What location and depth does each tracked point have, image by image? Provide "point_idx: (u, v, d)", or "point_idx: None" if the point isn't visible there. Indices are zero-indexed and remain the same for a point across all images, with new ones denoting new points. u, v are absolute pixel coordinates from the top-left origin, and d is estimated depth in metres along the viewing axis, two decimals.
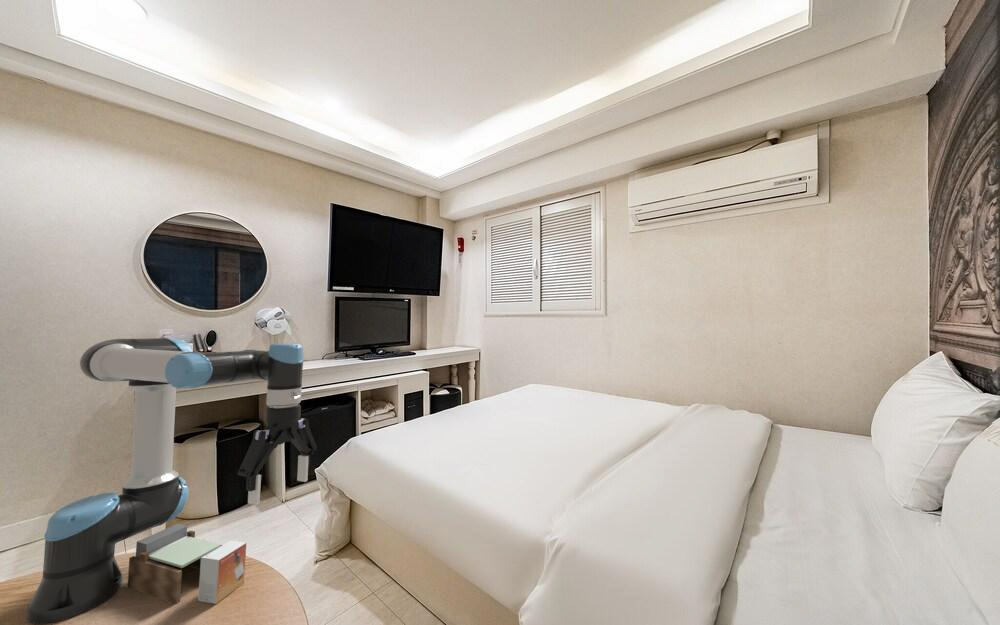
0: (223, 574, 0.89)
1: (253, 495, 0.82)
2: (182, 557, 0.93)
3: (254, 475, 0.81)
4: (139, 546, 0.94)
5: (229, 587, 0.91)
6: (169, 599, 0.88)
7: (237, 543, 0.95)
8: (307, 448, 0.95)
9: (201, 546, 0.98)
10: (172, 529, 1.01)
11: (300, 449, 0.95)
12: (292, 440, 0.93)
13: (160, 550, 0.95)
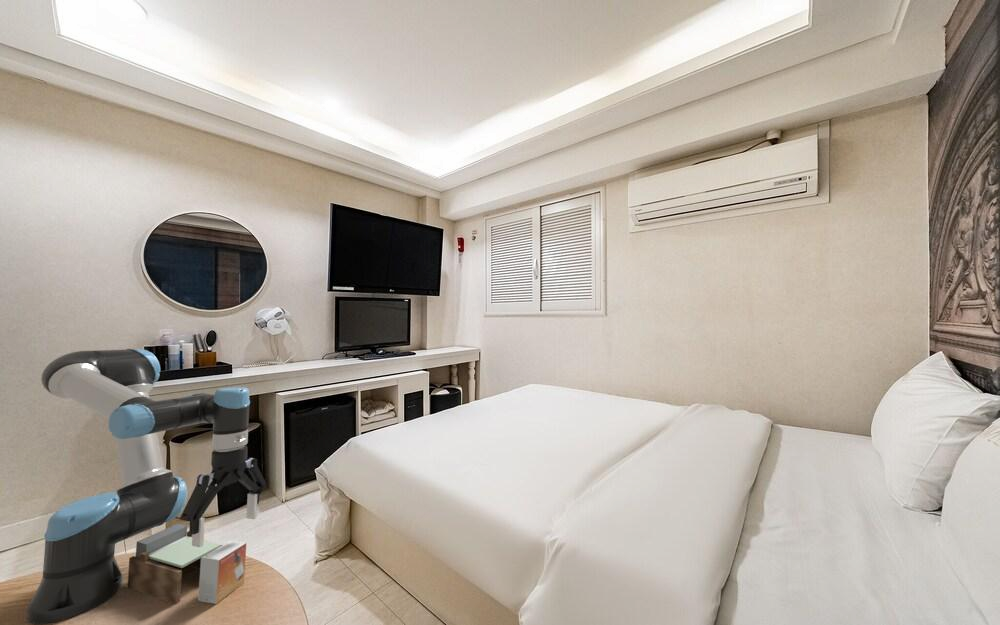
0: (223, 574, 0.89)
1: (196, 538, 0.86)
2: (182, 557, 0.93)
3: (197, 519, 0.85)
4: (139, 546, 0.94)
5: (229, 587, 0.91)
6: (169, 599, 0.88)
7: (237, 543, 0.95)
8: (256, 487, 0.99)
9: None
10: (172, 529, 1.01)
11: (249, 488, 0.99)
12: (240, 480, 0.97)
13: (160, 550, 0.95)
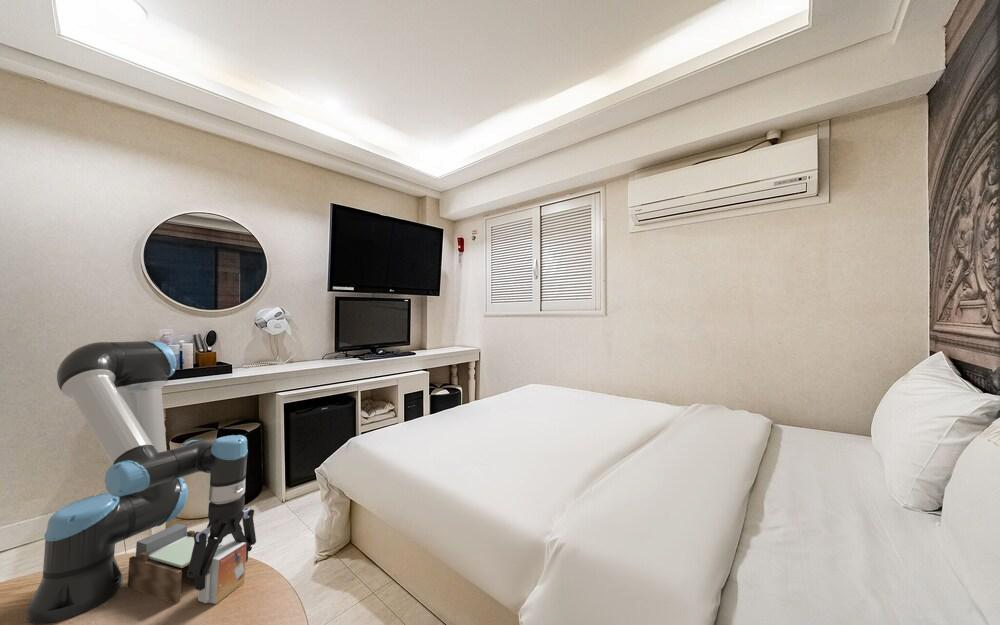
0: (223, 574, 0.89)
1: (203, 593, 0.87)
2: (182, 557, 0.93)
3: (203, 575, 0.87)
4: (139, 546, 0.94)
5: (229, 586, 0.91)
6: (169, 599, 0.88)
7: (237, 543, 0.95)
8: (246, 543, 0.97)
9: None
10: (172, 529, 1.01)
11: None
12: (233, 533, 0.95)
13: (160, 550, 0.95)
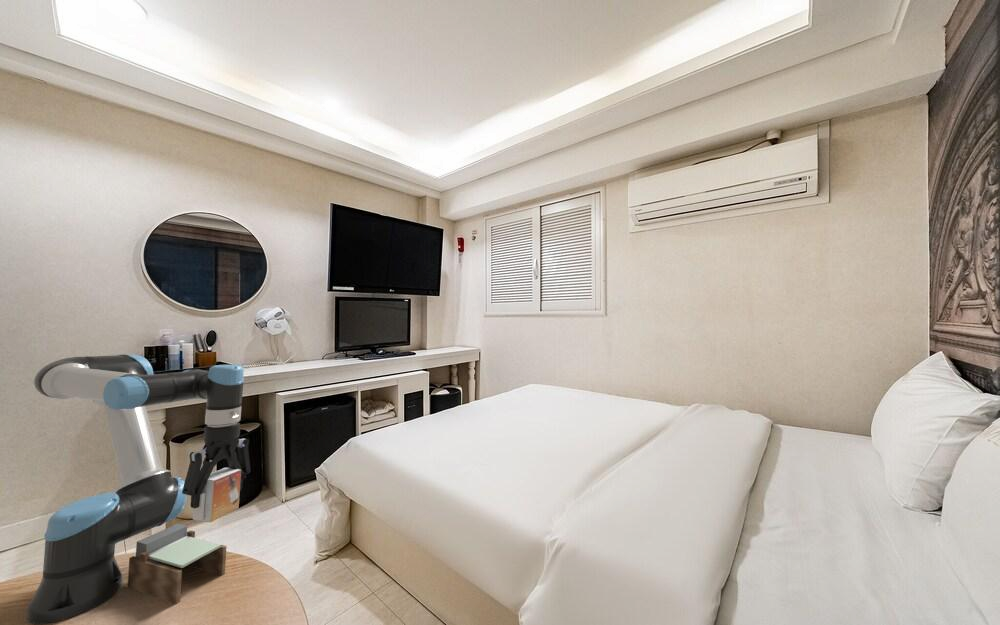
0: (218, 495, 0.91)
1: (197, 512, 0.89)
2: (182, 557, 0.93)
3: (198, 494, 0.89)
4: (139, 546, 0.94)
5: (223, 508, 0.93)
6: (169, 599, 0.88)
7: (232, 469, 0.97)
8: None
9: (201, 546, 0.98)
10: (172, 529, 1.01)
11: None
12: (228, 459, 0.97)
13: (160, 550, 0.95)
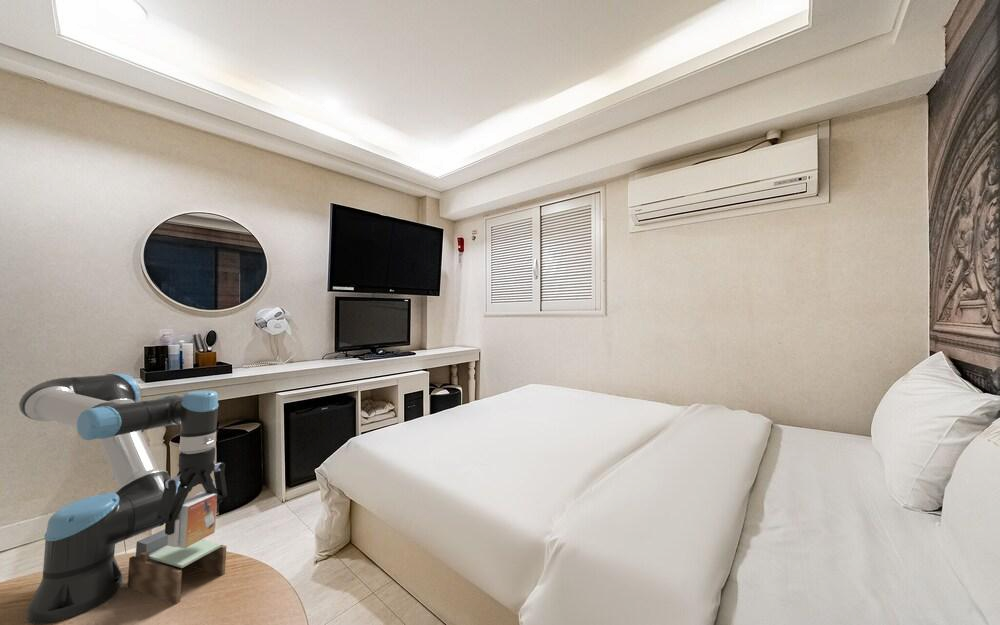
0: (192, 521, 0.93)
1: (172, 538, 0.91)
2: (182, 557, 0.93)
3: (172, 520, 0.90)
4: (139, 546, 0.94)
5: (199, 534, 0.94)
6: (169, 599, 0.88)
7: (208, 494, 0.99)
8: None
9: (201, 546, 0.98)
10: None
11: None
12: (204, 484, 0.98)
13: (160, 550, 0.95)
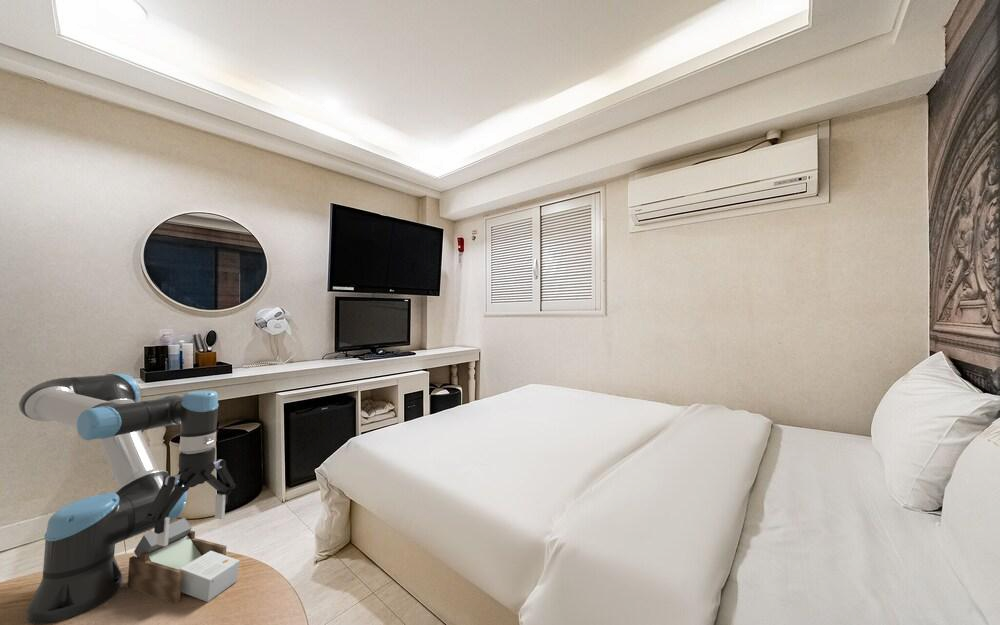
0: None
1: (161, 537, 0.89)
2: None
3: (162, 519, 0.88)
4: (144, 541, 0.94)
5: None
6: (169, 599, 0.88)
7: (235, 575, 0.95)
8: (224, 487, 1.02)
9: None
10: (178, 527, 1.00)
11: (217, 488, 1.01)
12: (208, 481, 0.99)
13: (160, 552, 0.95)
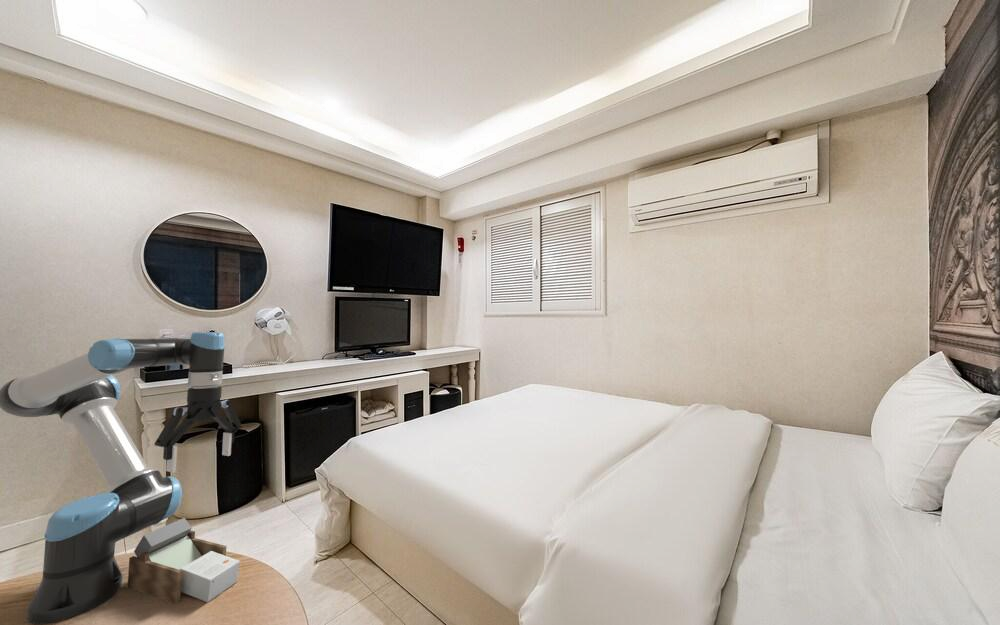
0: None
1: (170, 464, 0.94)
2: None
3: (170, 446, 0.93)
4: (144, 541, 0.94)
5: None
6: (169, 599, 0.88)
7: (235, 576, 0.95)
8: (230, 426, 1.07)
9: None
10: (178, 527, 1.00)
11: (224, 427, 1.06)
12: (215, 418, 1.04)
13: (160, 552, 0.95)
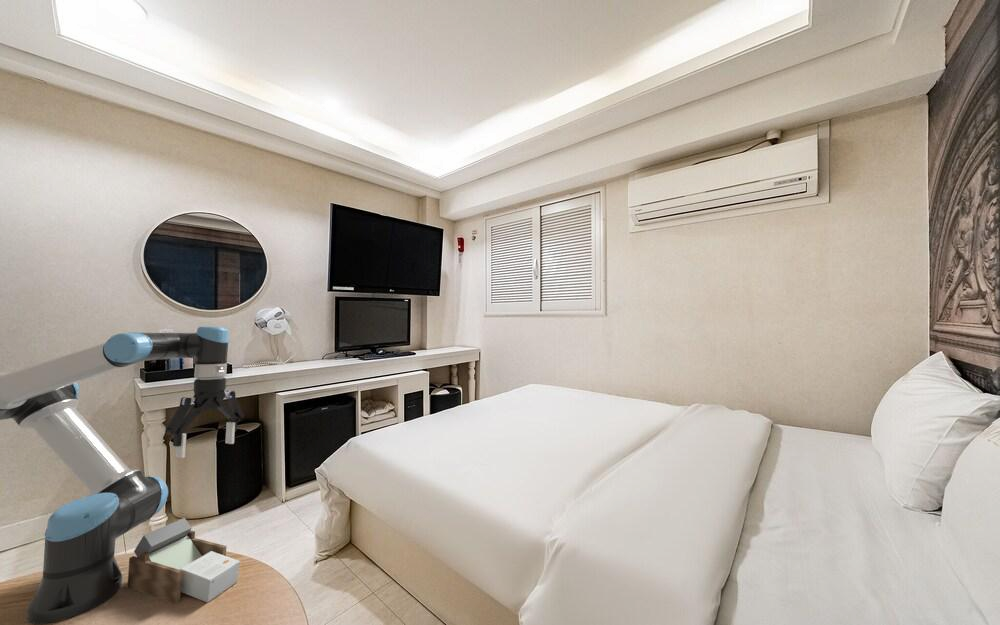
0: None
1: (179, 450, 0.99)
2: None
3: (179, 433, 0.98)
4: (144, 541, 0.94)
5: None
6: (169, 599, 0.88)
7: (235, 576, 0.95)
8: (233, 416, 1.13)
9: None
10: (178, 527, 1.00)
11: (227, 416, 1.12)
12: (219, 408, 1.10)
13: (160, 552, 0.95)
